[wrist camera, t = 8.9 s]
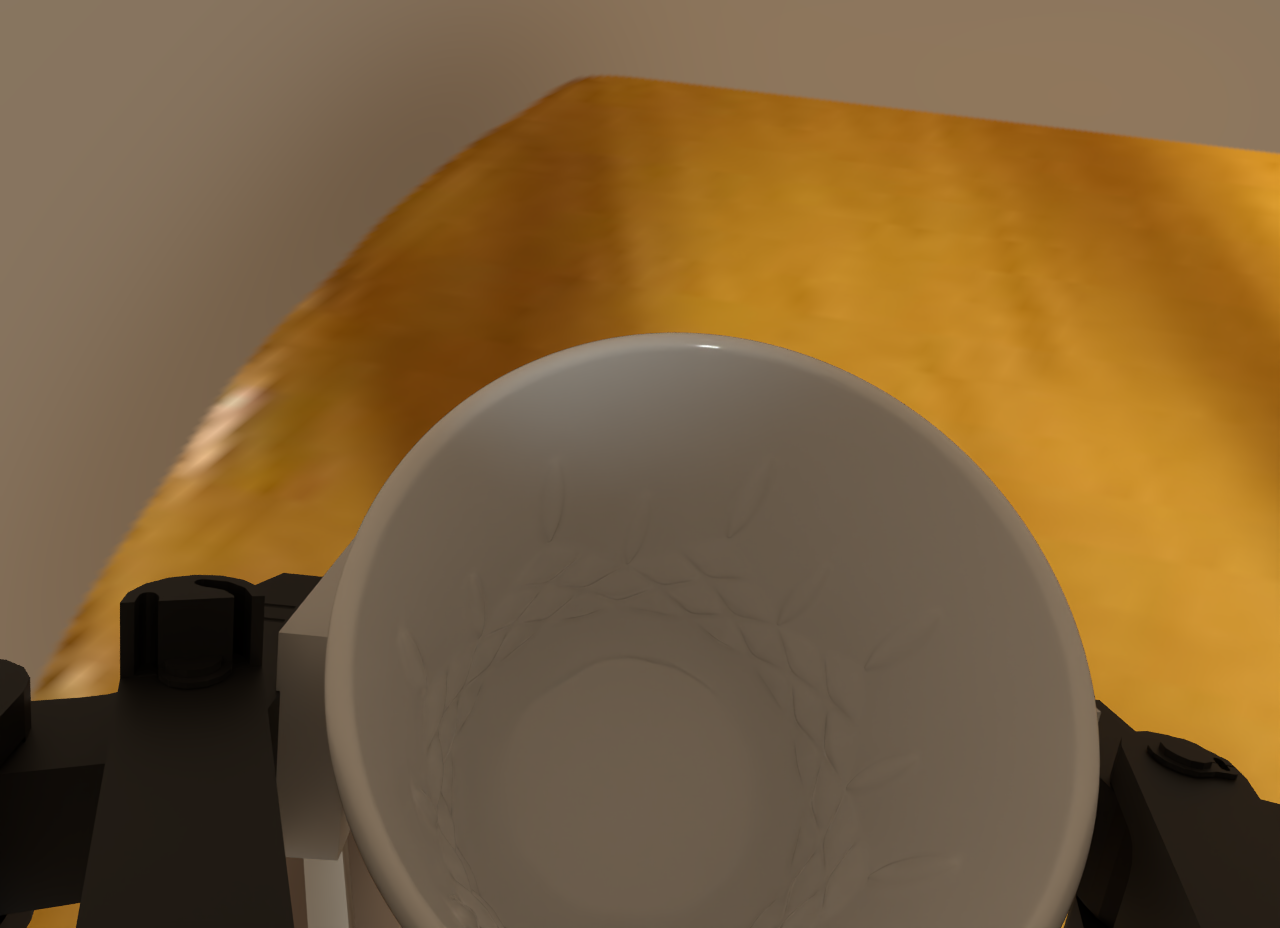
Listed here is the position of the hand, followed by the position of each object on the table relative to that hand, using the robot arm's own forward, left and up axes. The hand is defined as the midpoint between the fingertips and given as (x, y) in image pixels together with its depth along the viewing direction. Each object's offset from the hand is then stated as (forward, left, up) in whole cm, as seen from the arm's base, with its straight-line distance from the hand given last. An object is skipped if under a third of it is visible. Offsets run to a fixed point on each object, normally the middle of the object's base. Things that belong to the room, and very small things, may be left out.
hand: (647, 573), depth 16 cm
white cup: (+1, +3, -4) cm, 5 cm away
